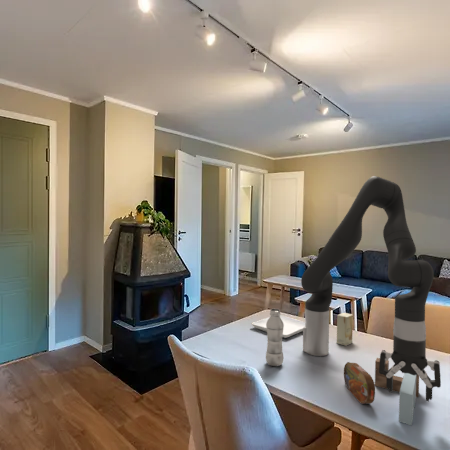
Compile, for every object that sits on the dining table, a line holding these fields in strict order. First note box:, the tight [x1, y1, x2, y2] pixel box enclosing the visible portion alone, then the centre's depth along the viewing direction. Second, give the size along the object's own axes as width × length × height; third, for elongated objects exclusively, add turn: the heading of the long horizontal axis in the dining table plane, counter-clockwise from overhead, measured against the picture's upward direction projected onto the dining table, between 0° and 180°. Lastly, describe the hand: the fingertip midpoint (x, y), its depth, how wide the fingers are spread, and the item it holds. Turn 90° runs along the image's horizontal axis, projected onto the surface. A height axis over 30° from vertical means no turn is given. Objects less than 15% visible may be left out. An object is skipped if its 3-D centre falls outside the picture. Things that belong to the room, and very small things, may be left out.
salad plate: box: [251, 314, 305, 339], centre depth 158 cm, size 21×21×3 cm
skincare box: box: [336, 312, 354, 346], centre depth 141 cm, size 6×4×12 cm
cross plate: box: [398, 373, 417, 426], centre depth 92 cm, size 14×3×8 cm, turn 146°
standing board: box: [374, 357, 420, 398], centre depth 104 cm, size 12×3×8 cm, turn 57°
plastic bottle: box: [265, 308, 284, 367], centre depth 120 cm, size 6×7×20 cm
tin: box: [343, 361, 376, 405], centre depth 100 cm, size 15×3×8 cm, turn 5°
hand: (408, 395), depth 88 cm, fingers open, 8 cm apart
